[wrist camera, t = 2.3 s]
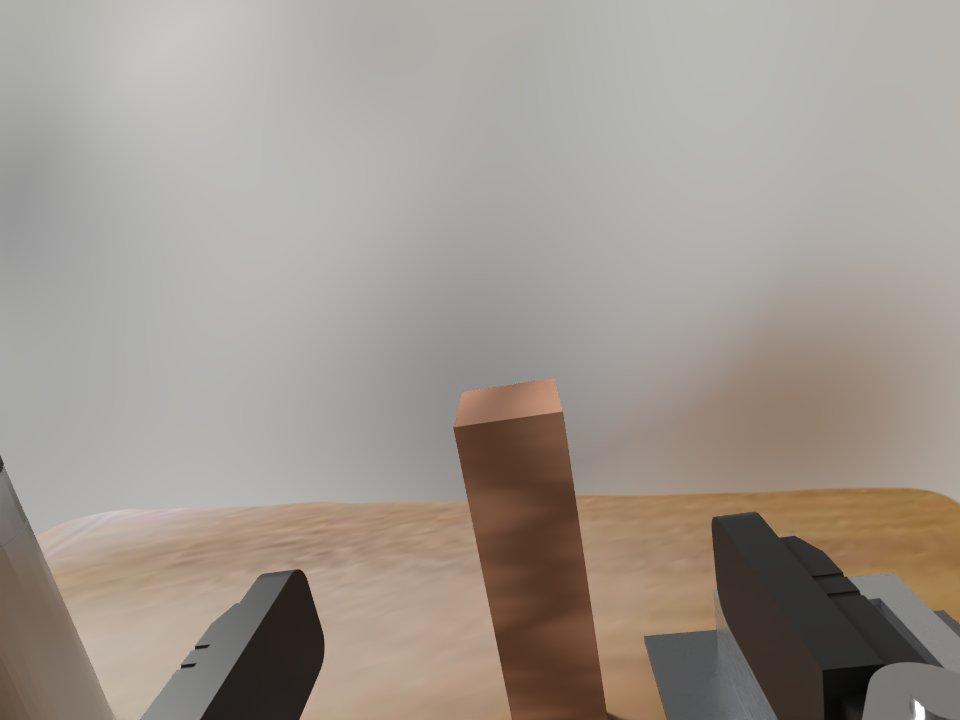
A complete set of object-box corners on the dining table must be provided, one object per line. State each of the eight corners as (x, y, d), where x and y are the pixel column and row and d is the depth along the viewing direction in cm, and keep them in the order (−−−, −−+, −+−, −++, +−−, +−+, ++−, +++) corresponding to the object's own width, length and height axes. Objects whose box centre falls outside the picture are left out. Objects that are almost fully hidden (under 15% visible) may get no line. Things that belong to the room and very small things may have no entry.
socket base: (717, 904, 20) (708, 803, 19) (645, 650, 31) (637, 577, 30) (1211, 890, 18) (1238, 776, 17) (942, 625, 30) (946, 546, 28)
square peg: (528, 797, 24) (453, 427, 20) (525, 717, 28) (462, 391, 24) (618, 790, 24) (562, 411, 19) (603, 710, 28) (554, 378, 23)
